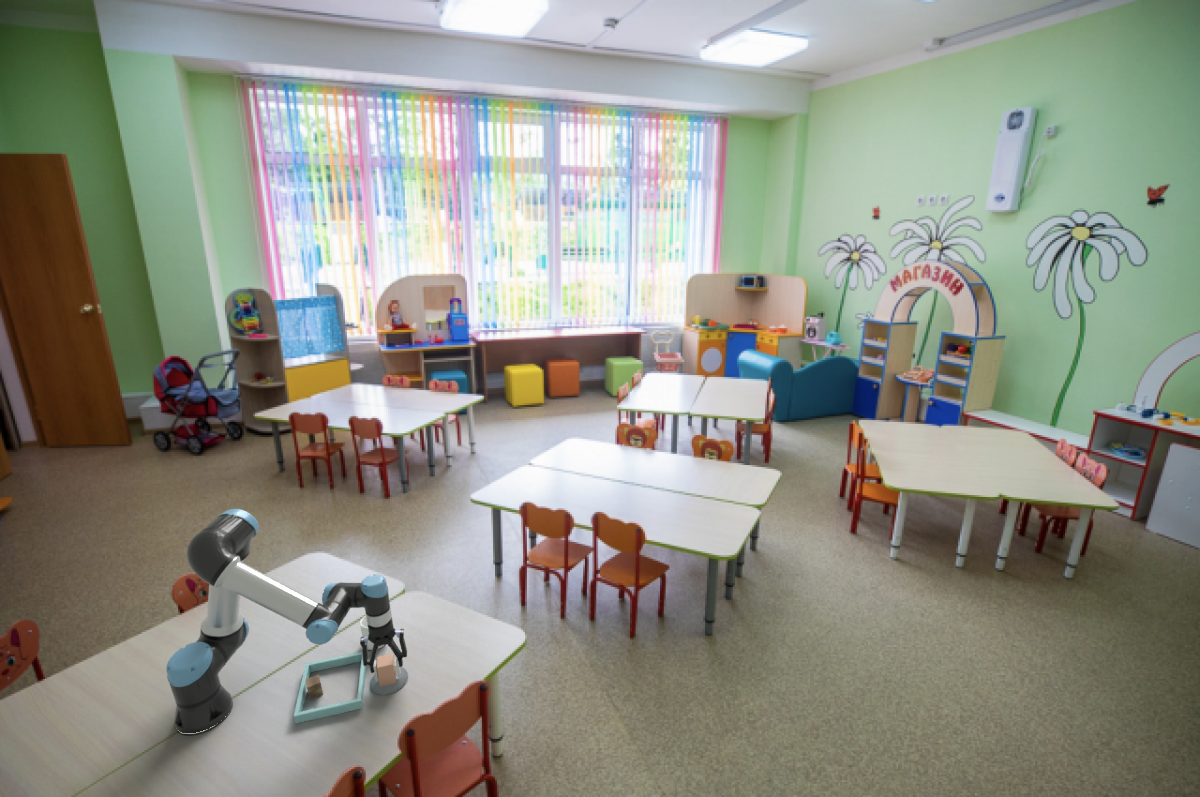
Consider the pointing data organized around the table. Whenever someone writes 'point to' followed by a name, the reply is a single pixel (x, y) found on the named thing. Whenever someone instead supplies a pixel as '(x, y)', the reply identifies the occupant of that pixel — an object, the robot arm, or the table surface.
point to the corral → (334, 708)
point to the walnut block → (314, 686)
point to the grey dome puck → (392, 687)
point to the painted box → (386, 670)
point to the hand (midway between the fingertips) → (388, 676)
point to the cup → (367, 633)
